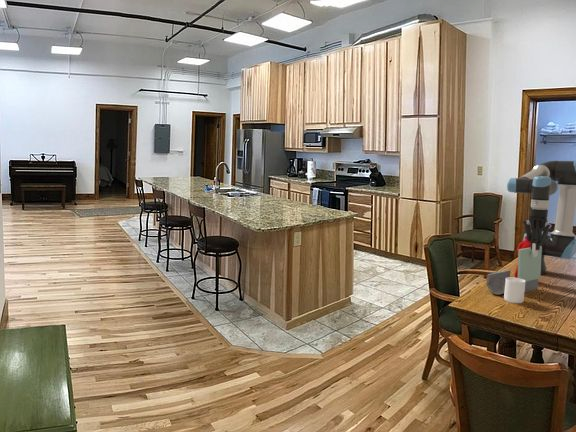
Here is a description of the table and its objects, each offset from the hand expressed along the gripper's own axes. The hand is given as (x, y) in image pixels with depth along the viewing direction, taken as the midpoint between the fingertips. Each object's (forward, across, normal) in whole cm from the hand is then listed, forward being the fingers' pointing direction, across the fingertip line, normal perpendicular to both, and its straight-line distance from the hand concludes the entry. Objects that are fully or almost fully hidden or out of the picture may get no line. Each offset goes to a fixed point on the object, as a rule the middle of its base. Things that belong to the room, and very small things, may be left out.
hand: (534, 256), depth 219 cm
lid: (+5, -2, 0) cm, 5 cm away
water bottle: (+19, -14, +18) cm, 29 cm away
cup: (+19, +2, -17) cm, 25 cm away
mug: (+16, -11, -10) cm, 22 cm away
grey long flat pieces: (+19, -10, 0) cm, 21 cm away
